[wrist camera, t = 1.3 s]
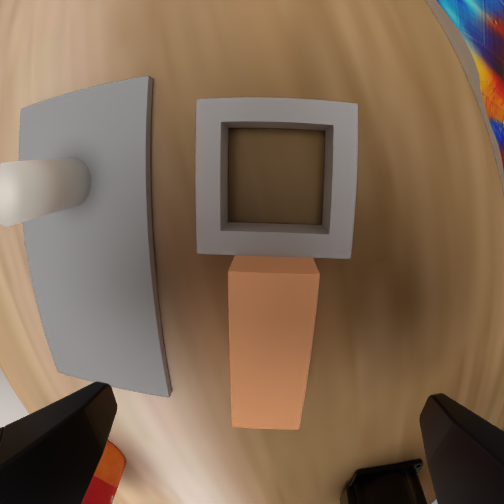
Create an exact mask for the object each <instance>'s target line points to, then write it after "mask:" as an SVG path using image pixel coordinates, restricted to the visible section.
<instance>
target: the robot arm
mask: <svg viewBox="0 0 504 504" xmlns="http://www.w3.org/2000/svg"><path fill="white" fill-rule="evenodd" d="M116 412H117V403H116V400H115V397H114V394H113V391H112V388H111V386H110V385H109V384H108V383H104V382H100V381H96V382H94V383H92V384H90V385H88V386H86V387H84V388H82V389H80V390H78V391H76V392H74V393H72V394H70V395H68V396H66V397H64V398H62V399H60V400H58V401H56V402H54V403H52V404H50V405H48V406H46V407H44V408H42V409H40V410H38V411H36V412H34V413H32V414H30V415H27V416H25V417H23V418H21V419H19V420H17V421H15V422H13V423H11V424H8V425H6V426H5V427H2V428H0V504H82V502H83V499H84V497H85V494H86V492H87V490H88V487H89V485H90V482H91V480H92V478H93V475H94V473H95V471H96V469H97V466H98V464H99V462H100V459H101V457H102V455H103V452H104V449H105V447H106V443H107V440H108V437H109V434H110V430H111V427H112V424H113V421H114V418H115V415H116ZM420 427H421V432H422V437H423V442H424V448H425V454H426V459H427V464H428V468H429V472H430V475H431V479H432V483H433V487H434V490H435V494H436V498H437V502H438V504H504V431H502V430H500V429H499V428H497V427H496V426H494V425H492V424H491V423H489V422H488V421H486V420H484V419H483V418H481V417H480V416H478V415H476V414H475V413H473V412H472V411H470V410H468V409H467V408H465V407H464V406H462V405H460V404H459V403H457V402H456V401H454V400H453V399H451V398H449V397H448V396H446V395H445V394H443V393H439V394H433V395H430V396H429V397H428V399H427V401H426V403H425V406H424V408H423V410H422V412H421V414H420ZM422 466H423V461H422V460H417V461H413V462H408V463H403V464H398V465H392V466H386V467H380V468H373V469H366V470H360V471H357V472H356V473H355V474H354V476H353V478H352V480H351V482H350V484H349V486H348V487H347V488H346V489H345V491H344V493H343V494H342V496H341V498H340V504H427V502H426V499H425V496H424V493H423V490H422V487H421V484H420V481H419V478H418V475H417V473H418V472H419V470H420V469H421V468H422Z"/></svg>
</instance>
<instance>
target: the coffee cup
mask: <svg viewBox="0 0 504 504" xmlns="http://www.w3.org/2000/svg"><path fill="white" fill-rule="evenodd" d="M125 462H126V461H125V458H124V456H123V454H122V453H121V452H120V450H119V449H118V448H117V447H115V446H114V445H113V444H112V443H111V442H109V441H108V440H107V443H106V447H105V449H104V452H103V455H102V457H101V459H100V462H99V464H98V466H97V469H96V471H95V473H94V475H93V478H92V480H91V482H90V485H89V487H88V490H87V492H86V494H85V497H84V499H83V502H82V504H112V502H113V499H114V496H115V493H116V491H117V488H118V485H119V482H120V479H121V476H122V473H123V470H124V467H125Z"/></svg>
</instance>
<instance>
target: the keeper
mask: <svg viewBox="0 0 504 504" xmlns="http://www.w3.org/2000/svg"><path fill="white" fill-rule="evenodd" d="M152 89H153V78H151V77H150V76H144V77H138V78H133V79H127V80H122V81H117V82H112V83H107V84H103V85H98V86H94V87H90V88H86V89H82V90H78V91H75V92H71V93H67V94H64V95H61V96H57V97H54V98H51V99H48V100H44V101H41V102H38V103H36V104H33V105H30V106H27V107H24V108H22V109H21V115H20V131H19V161H13V162H3V163H1V164H0V224H1V225H3V226H6V227H8V226H12V225H15V224H18V223H22V224H23V232H24V240H25V247H26V253H27V259H28V265H29V270H30V276H31V281H32V285H33V290H34V294H35V299H36V303H37V307H38V311H39V314H40V318H41V322H42V325H43V329H44V332H45V336H46V339H47V342H48V345H49V348H50V351H51V354H52V357H53V360H54V363H55V366H56V368H57V371H58V372H59V373H62V374H66V375H69V376H73V377H76V378H80V379H83V380H87V381H91V382H96V381H100V382H104V383H108V384H109V385H110V386H111V387H116V388H120V389H125V390H130V391H134V392H140V393H145V394H150V395H156V396H162V397H168V398H169V397H170V395H171V392H172V390H171V385H170V379H169V373H168V367H167V361H166V355H165V348H164V341H163V334H162V327H161V319H160V311H159V302H158V293H157V283H156V272H155V260H154V247H153V231H152V210H151V170H150V147H151V108H152Z"/></svg>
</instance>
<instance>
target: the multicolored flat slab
mask: <svg viewBox="0 0 504 504" xmlns="http://www.w3.org/2000/svg"><path fill="white" fill-rule="evenodd" d="M426 2H427V4H428V5H429V7H430V8H431V10H432V11H433V13H434V15H435V16H436V18H437V19H438V21H439V23H440V25H441V26H442V28H443V30H444V32H445V33H446V35H447V37H448V39H449V41H450V43H451V44H452V46H453V48H454V50H455V52H456V54H457V56H458V58H459V60H460V62H461V64H462V67H463V69H464V71H465V73H466V75H467V78H468V80H469V82H470V85H471V87H472V89H473V92H474V94H475V97H476V99H477V102H478V105H479V107H480V110H481V113H482V116H483V119H484V122H485V125H486V128H487V131H488V134H489V137H490V140H491V144H492V147H493V151H494V155H495V158H496V162H497V166H498V170H499V175H500V179H501V184H502V189H503V194H504V0H426Z"/></svg>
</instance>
